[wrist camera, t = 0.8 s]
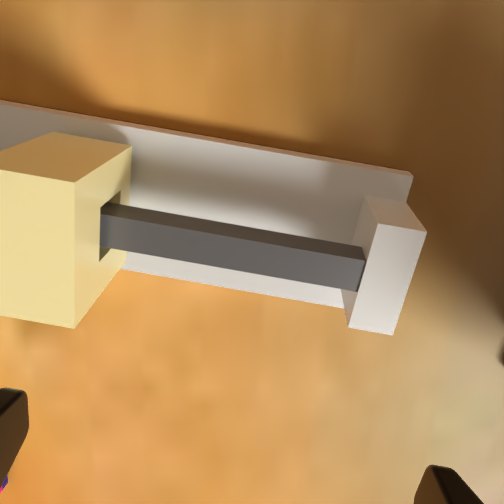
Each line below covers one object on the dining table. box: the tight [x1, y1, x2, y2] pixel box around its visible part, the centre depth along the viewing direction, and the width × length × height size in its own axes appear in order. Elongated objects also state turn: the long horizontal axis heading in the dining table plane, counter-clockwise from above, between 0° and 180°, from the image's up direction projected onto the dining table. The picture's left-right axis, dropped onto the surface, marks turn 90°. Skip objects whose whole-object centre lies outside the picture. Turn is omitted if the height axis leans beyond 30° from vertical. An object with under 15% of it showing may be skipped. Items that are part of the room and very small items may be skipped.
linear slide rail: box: [0, 100, 427, 335], centre depth 17 cm, size 22×6×5 cm, turn 81°
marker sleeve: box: [0, 132, 132, 329], centre depth 16 cm, size 3×5×5 cm, turn 171°
